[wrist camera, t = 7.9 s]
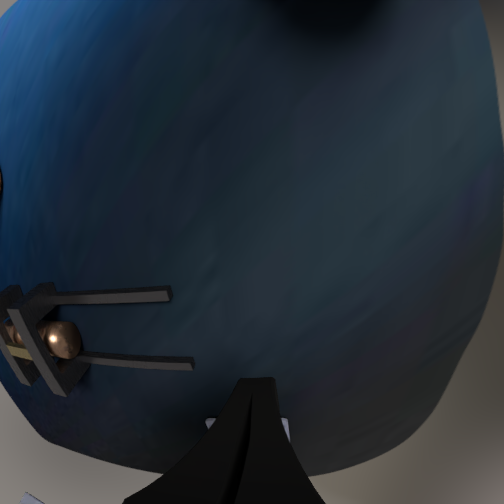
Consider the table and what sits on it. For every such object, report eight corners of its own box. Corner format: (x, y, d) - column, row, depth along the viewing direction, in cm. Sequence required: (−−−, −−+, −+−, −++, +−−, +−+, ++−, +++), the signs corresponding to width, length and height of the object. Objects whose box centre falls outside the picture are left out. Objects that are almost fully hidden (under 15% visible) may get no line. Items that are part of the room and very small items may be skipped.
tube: (67, 314, 22) (50, 341, 19) (85, 339, 24) (71, 366, 21) (13, 311, 24) (-2, 332, 21) (28, 333, 25) (15, 354, 23)
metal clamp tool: (198, 372, 23) (182, 416, 18) (43, 357, 26) (21, 383, 21) (166, 272, 20) (136, 310, 15) (9, 285, 23) (-20, 307, 18)
